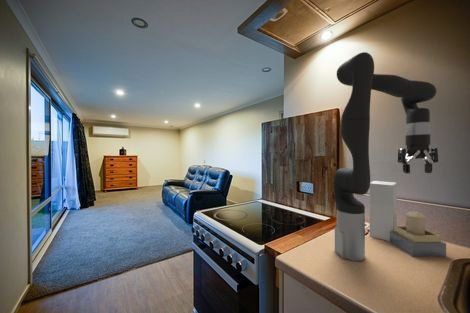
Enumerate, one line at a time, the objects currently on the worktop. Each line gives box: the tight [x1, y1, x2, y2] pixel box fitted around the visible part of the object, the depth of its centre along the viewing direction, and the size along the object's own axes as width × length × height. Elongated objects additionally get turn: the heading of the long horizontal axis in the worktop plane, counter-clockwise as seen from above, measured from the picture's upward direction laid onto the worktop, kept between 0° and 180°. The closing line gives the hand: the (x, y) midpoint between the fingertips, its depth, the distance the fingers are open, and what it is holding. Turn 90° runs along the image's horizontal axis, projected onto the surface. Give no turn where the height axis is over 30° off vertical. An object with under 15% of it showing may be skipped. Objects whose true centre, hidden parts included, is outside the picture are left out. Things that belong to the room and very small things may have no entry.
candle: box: [405, 210, 426, 235], centre depth 76 cm, size 6×6×10 cm
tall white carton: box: [368, 180, 398, 242], centre depth 88 cm, size 9×9×25 cm
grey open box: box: [389, 225, 447, 258], centre depth 76 cm, size 12×11×8 cm
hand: (417, 173), depth 80 cm, fingers open, 8 cm apart
